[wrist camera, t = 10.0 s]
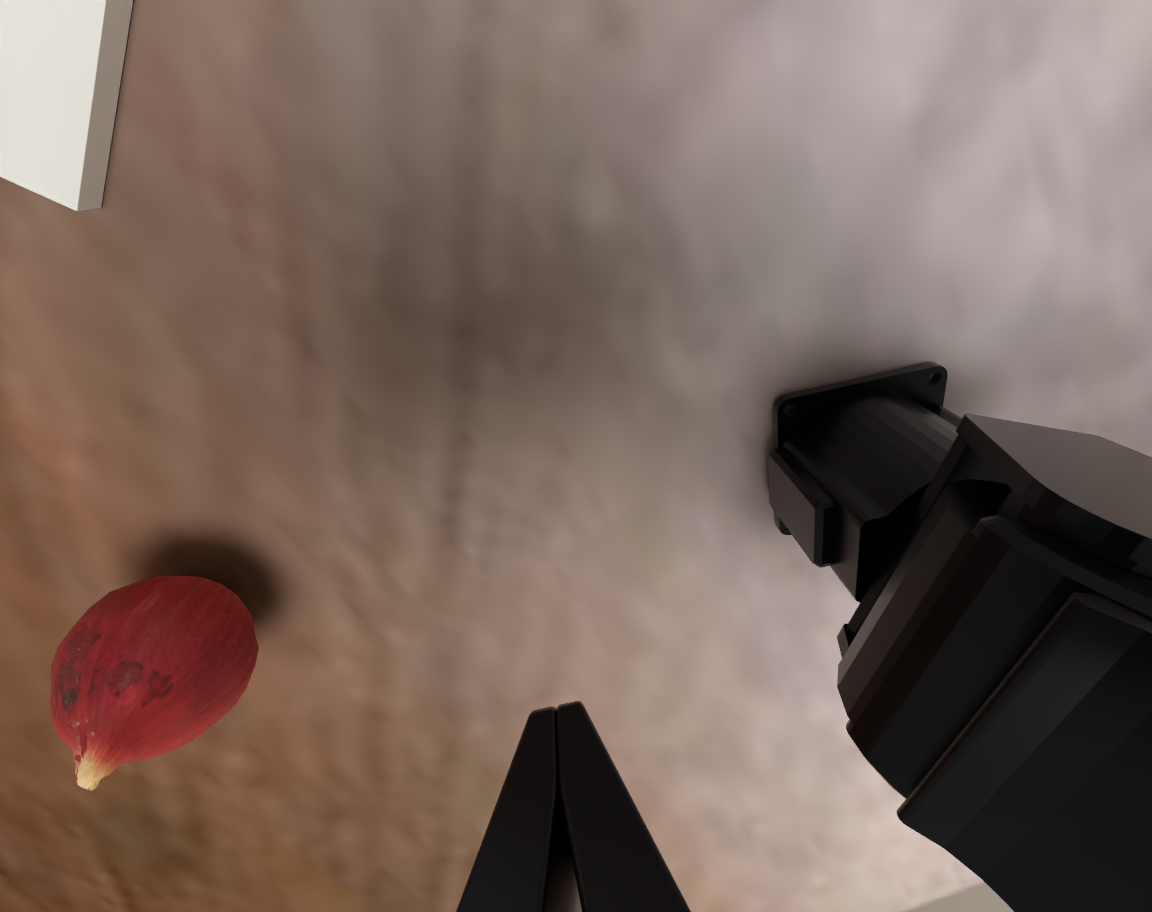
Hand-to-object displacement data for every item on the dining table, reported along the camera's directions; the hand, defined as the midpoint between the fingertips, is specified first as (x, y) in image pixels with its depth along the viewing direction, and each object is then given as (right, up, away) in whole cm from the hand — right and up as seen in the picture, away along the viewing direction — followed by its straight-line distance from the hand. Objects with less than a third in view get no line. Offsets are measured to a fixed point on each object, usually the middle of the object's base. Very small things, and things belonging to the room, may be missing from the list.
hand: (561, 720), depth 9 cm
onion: (-15, -1, +14) cm, 21 cm away
